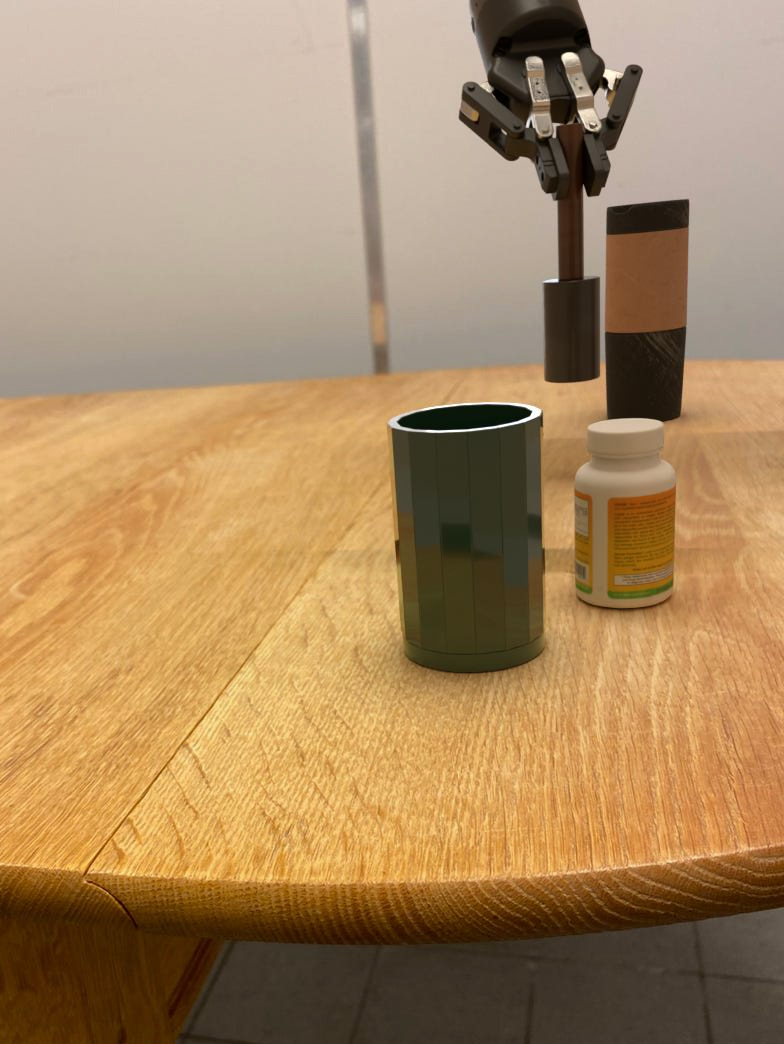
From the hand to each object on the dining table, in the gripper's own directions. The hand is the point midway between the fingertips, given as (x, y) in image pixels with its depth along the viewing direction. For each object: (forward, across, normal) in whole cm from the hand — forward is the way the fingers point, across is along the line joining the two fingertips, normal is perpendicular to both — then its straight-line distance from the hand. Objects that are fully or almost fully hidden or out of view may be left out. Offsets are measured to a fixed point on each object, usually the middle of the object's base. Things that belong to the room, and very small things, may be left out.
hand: (580, 188), depth 72 cm
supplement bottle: (+30, -4, +1) cm, 30 cm away
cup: (+33, -14, -2) cm, 36 cm away
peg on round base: (+8, 0, +11) cm, 13 cm away
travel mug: (-5, +16, +36) cm, 40 cm away
